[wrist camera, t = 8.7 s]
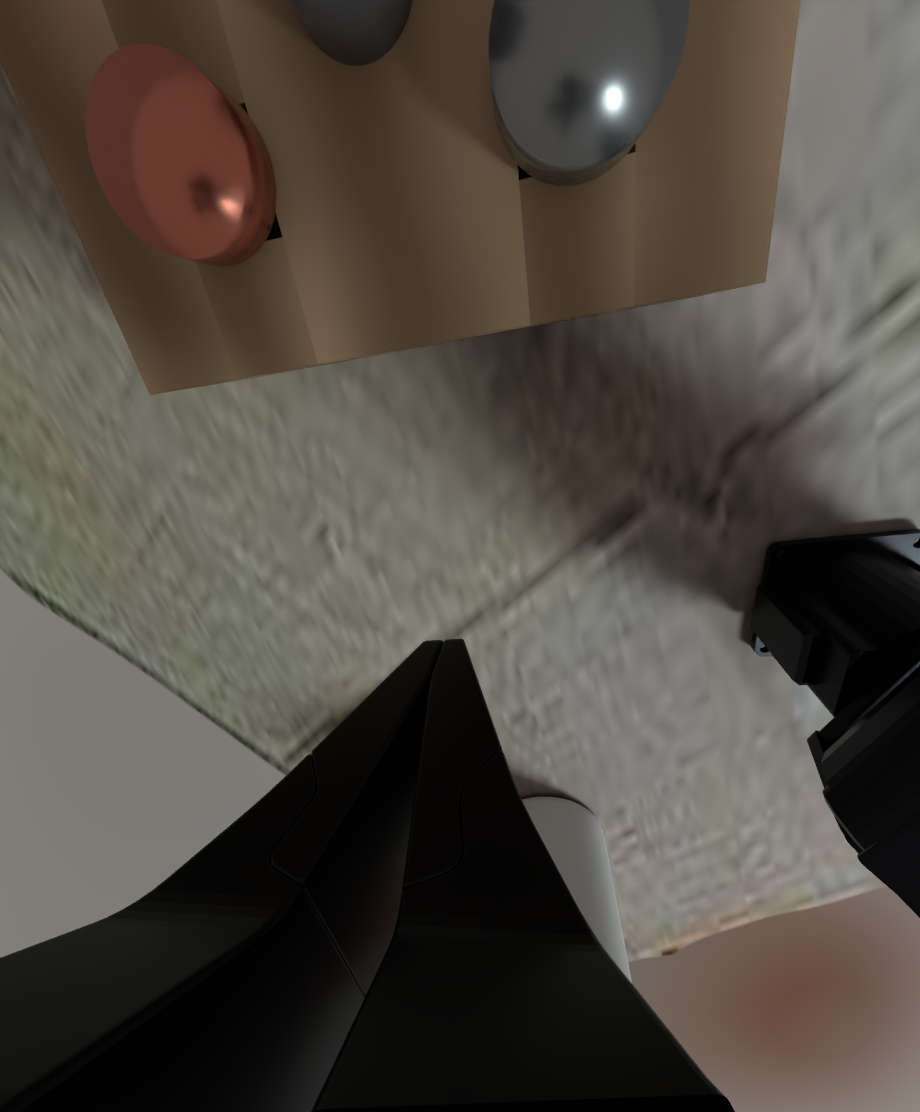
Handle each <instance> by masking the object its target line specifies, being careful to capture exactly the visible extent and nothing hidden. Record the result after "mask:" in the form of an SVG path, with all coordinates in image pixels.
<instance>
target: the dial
mask: <svg viewBox="0 0 920 1112" xmlns="http://www.w3.org/2000/svg"><path fill="white" fill-rule="evenodd" d="M286 1H287V2H288V3H289V5H290V6H291V8H292V9H293V11H294V12H295V14H296V15H297V17H298V18H299V20H300V21H301V23H302V24H303V26H304V27H305V28H306V30H307V31H308V33H309V34H310V36H311V37H312V39H313V40H314V41H315V43H316V44H317V45H318V46H319V47H320V48H321V49H322V50H323V51H324V52H325V53H326V54H327V55H328V56H330V57H331V58H333V59H334V60H336V61H338V62H340V63H343V64H346V65H351V66H363V65H367V64H370V63H373V62H375V61H377V60H379V59H380V58H382V57H383V56H384V55H385V54H387V53H388V52H389V51H390V50H391V48H392V47H393V46H394V45H395V43H396V42H397V40H398V39H399V37H400V36H401V34H402V32H403V30H404V28H405V25H406V22H407V20H408V17H409V13H410V10H411V6H412V0H286Z"/></svg>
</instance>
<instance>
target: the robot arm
mask: <svg viewBox="0 0 920 1112" xmlns="http://www.w3.org/2000/svg"><path fill="white" fill-rule="evenodd" d="M917 539H919V540H918V542H916V543H915V544H913V543H914V542H915V541H916V540H917ZM781 550H784V551H783V553H782V554H781V555H779V556H776V555H777V553H778V552H779V551H781ZM751 629H752V630H753V636H752V642H751V648H752V649H753V650H754V651H755V653H756V654H757V655H759V656H774V658H775V659H776V660H777V661H778V663H779V664H780V665H781V666H782V668H783V669H784V670H785V671H786V673H787V674H788V675H789V676H790V678H791V679H792V680H793V681H794V682H796V683H797V684H798V685H808V687H809V688H810V689H811V690H812V691H813V693H814V694H815V695H816V696H817V697H818V698H819V700H820V701H821V702H822V703H823V704H824V706H825V707H826V708H827V709H828V710H829V712H830V713H831V714H832V715H833V716H834V718H833V719H832V720H831V721H830V722H829V723H828V724H827V725H826V726H825V727H824V728H822V729H821V730H820V731H815V732H814V733H813V734H812V735H811V736H810V737H809V738H808V739H807V742H808V745H809V747H810V750H811V753H812V756H813V758H814V761H815V764H816V767H817V769H818V772H819V775H820V778H821V781H822V783H823V786H824V790H823V795H824V798H825V801H826V803H827V804H828V806H829V808H830V809H831V811H832V812H833V814H834V817H835V819H836V821H837V823H838V825H839V827H840V829H841V831H842V832H843V834H844V836H845V838H846V840H847V842H848V843H849V844H850V845H851V846H852V847H853V848H854V849H855V850H856V851H857V852H858V859H859V861H860V862H861V863H862V864H863V865H864V866H865V867H866V868H867V869H868V870H869V871H871V872H872V873H873V874H874V875H875V876H876V877H878V878H879V879H880V880H881V881H882V882H883V883H884V884H886V885H887V886H888V887H889V888H890V889H891V890H893V891H894V892H895V893H896V894H897V895H898V896H899V897H900V898H901V899H902V900H903V901H904V902H905V903H906V904H907V905H908V906H909V907H910V908H911V909H912V910H913V911H914V912H915V913H916V914H917V915H918V917H920V529H913V530H902V531H891V532H880V533H869V534H858V535H846V536H835V537H824V538H813V539H802V540H791V541H780V542H776V543H773V544H772V545H770V546H769V548H768V549H767V551H766V556H765V563H764V569H763V575H762V581H761V584H760V585H759V587H758V588H757V591H756V598H755V604H754V610H753V616H752V623H751ZM764 645H765V647H763V648H761V647H762V646H764ZM0 1112H735V1111H734V1109H733V1108H732V1106H731V1104H730V1102H729V1101H728V1099H727V1098H726V1097H725V1096H724V1095H723V1094H722V1093H721V1092H720V1091H719V1090H718V1089H717V1087H716V1086H715V1085H714V1084H713V1083H712V1082H711V1081H710V1080H709V1079H708V1078H707V1077H706V1075H705V1074H704V1073H703V1072H702V1070H701V1069H700V1068H699V1067H698V1065H697V1064H696V1063H695V1062H694V1060H693V1059H692V1058H691V1057H690V1055H689V1054H688V1053H687V1052H686V1050H685V1049H684V1048H683V1047H682V1045H681V1044H680V1043H679V1042H678V1040H677V1039H676V1038H675V1037H674V1036H673V1034H672V1033H671V1032H670V1030H669V1029H668V1028H667V1027H666V1025H665V1024H664V1023H663V1022H662V1021H661V1019H660V1018H659V1017H658V1015H657V1014H656V1013H655V1012H654V1010H653V1009H652V1008H651V1007H650V1006H649V1004H648V1003H647V1002H646V1000H645V999H644V998H643V997H642V995H641V994H640V993H639V992H638V991H637V989H636V988H635V987H634V986H633V984H632V983H631V982H630V981H629V979H628V978H627V977H626V976H625V974H624V973H623V972H622V971H621V969H620V968H619V967H618V966H617V964H616V963H615V962H614V961H613V959H612V958H611V957H610V956H609V954H608V953H607V952H606V950H605V949H604V948H603V946H602V945H601V943H600V942H599V940H598V939H597V937H596V936H595V934H594V932H593V931H592V929H591V928H590V926H589V924H588V923H587V921H586V919H585V918H584V916H583V914H582V913H581V911H580V909H579V907H578V906H577V904H576V902H575V900H574V898H573V897H572V895H571V893H570V891H569V889H568V887H567V885H566V883H565V882H564V880H563V878H562V876H561V874H560V872H559V870H558V868H557V867H556V865H555V863H554V861H553V859H552V857H551V855H550V853H549V852H548V850H547V848H546V846H545V844H544V842H543V840H542V838H541V837H540V835H539V833H538V831H537V829H536V827H535V825H534V823H533V821H532V819H531V817H530V815H529V813H528V811H527V809H526V807H525V805H524V803H523V801H522V799H521V797H520V795H519V792H518V790H517V787H516V785H515V782H514V780H513V777H512V775H511V772H510V770H509V767H508V764H507V761H506V758H505V755H504V753H503V752H502V747H501V745H500V742H499V739H498V736H497V733H496V730H495V727H494V725H493V722H492V719H491V716H490V713H489V710H488V707H487V705H486V702H485V699H484V696H483V693H482V690H481V687H480V685H479V682H478V679H477V676H476V673H475V670H474V667H473V665H472V662H471V659H470V656H469V653H468V650H467V647H466V645H465V642H464V640H463V639H448V640H445V641H444V642H443V641H442V640H432V641H425V642H423V643H422V644H421V645H420V646H419V647H418V648H417V649H416V650H415V651H414V652H413V653H412V654H411V655H410V656H409V657H407V658H406V659H405V660H404V661H403V662H402V663H401V664H400V665H399V666H398V667H397V668H396V669H395V670H394V671H393V672H392V673H391V674H390V675H389V676H388V677H387V678H386V679H385V680H384V681H383V682H382V683H381V684H380V685H379V686H378V687H377V688H376V689H375V690H374V691H373V692H372V693H371V694H370V695H369V696H368V697H367V698H366V699H365V700H364V701H363V702H362V703H360V704H359V705H358V706H357V707H356V708H355V709H354V710H353V711H352V712H351V713H350V714H349V715H348V716H347V717H346V718H345V719H344V720H343V721H342V722H341V723H340V724H339V725H338V726H337V727H336V728H335V729H334V730H333V731H332V732H331V733H330V734H329V735H328V736H327V737H326V738H325V739H324V740H323V741H322V742H321V743H320V744H319V745H318V746H317V747H316V748H315V749H313V750H312V755H311V754H309V755H307V756H306V757H305V758H304V759H303V760H302V761H301V762H300V763H299V764H298V765H297V766H296V767H295V768H294V769H293V770H292V771H291V772H290V773H289V774H288V775H286V776H285V777H284V778H283V779H282V780H281V781H280V782H279V783H278V784H277V785H276V786H275V787H274V788H273V789H272V790H270V791H269V792H268V793H267V794H266V795H265V796H264V797H263V798H261V799H260V800H259V801H258V802H257V803H256V804H255V805H253V806H252V807H251V808H250V809H249V810H248V811H247V812H245V813H244V814H243V815H242V816H241V817H240V818H238V819H237V820H236V821H235V822H234V823H233V824H231V825H230V826H229V827H228V828H227V829H226V830H224V831H223V832H222V833H221V834H219V835H218V836H217V837H216V838H215V839H214V840H212V841H211V842H210V843H209V844H208V845H206V846H205V847H204V848H203V849H202V850H200V851H199V852H198V853H197V854H196V855H195V856H193V857H192V858H191V859H190V860H189V861H187V862H186V863H185V864H184V865H183V866H182V867H180V868H179V869H178V870H177V871H176V872H175V873H173V874H172V875H171V876H170V877H168V878H167V879H166V880H165V881H164V882H162V883H161V884H160V885H158V886H157V887H156V888H155V889H153V890H152V891H151V892H149V893H148V894H146V895H145V896H144V897H142V898H141V899H139V900H138V901H136V902H135V903H133V904H131V905H130V906H128V907H126V908H124V909H123V910H121V911H119V912H117V913H115V914H113V915H111V916H109V917H107V918H104V919H102V920H100V921H97V922H95V923H92V924H89V925H87V926H84V927H81V928H79V929H76V930H73V931H71V932H68V933H66V934H63V935H60V936H58V937H55V938H52V939H49V940H47V941H44V942H42V943H39V944H36V945H34V946H31V947H28V948H25V949H23V950H20V951H17V952H15V953H12V954H10V955H7V956H4V957H1V958H0Z"/></svg>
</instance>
